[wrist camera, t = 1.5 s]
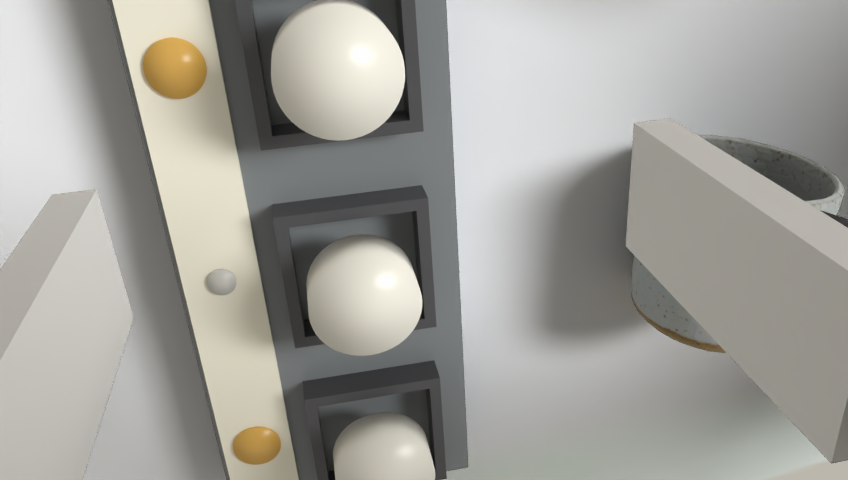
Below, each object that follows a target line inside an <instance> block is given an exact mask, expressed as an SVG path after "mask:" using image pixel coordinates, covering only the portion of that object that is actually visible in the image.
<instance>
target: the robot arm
mask: <svg viewBox="0 0 848 480" xmlns="http://www.w3.org/2000/svg"><path fill="white" fill-rule="evenodd" d="M626 247H627V248H628V249H629V250H630V251H631V252H632V253H633V254H634V255H635V257H636V258H637V259H638V260H639V261H640V262H641V263H642V264H643V265H644V266H645V267H646V268H647V269H648V270H649V271H650V272H651V273H652V275H653V276H654V277H655V278H656V279H657V280H658V281H659V282H660V283H661V284H662V285H663V286H664V287H665V288H666V289H667V290H668V291H669V293H670V294H671V295H672V296H673V297H674V298H675V299H676V300H677V301H678V302H679V303H680V304H681V305H682V306H683V307H684V308H685V309H686V310H687V312H688V313H689V314H690V315H691V316H692V317H693V318H694V319H695V320H696V321H697V322H698V323H699V324H700V325H701V326H702V327H703V328H704V330H705V331H706V332H707V333H708V334H709V335H710V336H711V337H712V338H713V339H714V340H715V341H716V342H717V343H718V344H719V345H720V346H721V348H722V349H723V350H724V351H725V352H726V353H727V354H728V355H729V356H730V357H731V358H732V359H733V360H734V361H735V362H736V363H737V364H738V365H739V367H740V368H741V369H742V370H743V371H744V372H745V373H746V374H747V375H748V376H749V377H750V378H751V379H752V380H753V381H754V382H755V383H756V385H757V386H758V387H759V388H760V389H761V390H762V391H763V392H764V393H765V394H766V395H767V396H768V397H769V398H770V399H771V400H772V401H773V403H774V404H775V405H776V406H777V407H778V408H779V409H780V410H781V411H782V412H783V413H784V414H785V415H786V416H787V417H788V418H789V419H790V420H791V422H792V423H793V424H794V425H795V426H796V427H797V428H798V429H799V430H800V431H801V432H802V433H803V434H804V435H805V436H806V437H807V438H808V440H809V441H810V442H811V443H812V444H813V445H814V446H815V447H816V448H817V449H818V450H819V451H820V452H821V453H822V454H823V455H824V456H825V457H826V459H827V460H828V461H829V462H830V463H836V462H841V461H846V460H848V219H845V218H842V217H839V216H836V215H833V214H831V213H828V212H825V211H820V210H818V209H816V208H815V207H813V206H812V205H810V204H808V203H807V202H805V201H803V200H802V199H800V198H799V197H797V196H795V195H794V194H792V193H790V192H789V191H787V190H786V189H784V188H782V187H781V186H779V185H777V184H776V183H774V182H773V181H771V180H769V179H768V178H766V177H765V176H763V175H761V174H760V173H758V172H756V171H755V170H753V169H752V168H750V167H748V166H747V165H745V164H743V163H742V162H740V161H739V160H737V159H735V158H734V157H732V156H730V155H729V154H727V153H726V152H724V151H722V150H721V149H719V148H717V147H716V146H714V145H713V144H711V143H709V142H708V141H706V140H704V139H703V138H701V137H700V136H698V135H696V134H695V133H693V132H691V131H690V130H688V129H687V128H685V127H683V126H682V125H680V124H678V123H677V122H675V121H674V120H672V119H662V120H653V121H645V122H637V123H634V130H633V145H632V159H631V174H630V189H629V203H628V218H627V232H626ZM133 319H134V317H133V313H132V310H131V306H130V303H129V299H128V296H127V293H126V289H125V286H124V282H123V279H122V275H121V272H120V268H119V265H118V261H117V258H116V254H115V251H114V247H113V244H112V241H111V237H110V234H109V230H108V227H107V223H106V220H105V216H104V213H103V209H102V206H101V202H100V199H99V195H98V192H97V189H95V190H87V191H79V192H71V193H62V194H54V195H52V196H51V197H50V199H49V200H48V201H47V203H46V204H45V206H44V207H43V209H42V210H41V211H40V213H39V214H38V216H37V217H36V219H35V220H34V222H33V223H32V224H31V226H30V227H29V229H28V230H27V232H26V233H25V235H24V236H23V237H22V239H21V240H20V242H19V243H18V245H17V246H16V248H15V249H14V250H13V252H12V253H11V255H10V256H9V258H8V259H7V261H6V262H5V263H4V265H3V266H2V268H1V269H0V480H83V477H84V474H85V471H86V468H87V465H88V462H89V459H90V455H91V452H92V449H93V446H94V443H95V440H96V436H97V433H98V430H99V427H100V424H101V421H102V417H103V414H104V411H105V408H106V405H107V402H108V398H109V395H110V392H111V389H112V386H113V383H114V379H115V376H116V373H117V370H118V367H119V364H120V360H121V357H122V354H123V351H124V348H125V345H126V341H127V338H128V335H129V332H130V329H131V326H132V322H133Z"/></svg>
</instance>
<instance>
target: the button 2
mask: <svg viewBox="0 0 848 480" xmlns="http://www.w3.org/2000/svg"><path fill="white" fill-rule="evenodd" d="M333 461H334V471H335V480H435V468H434V464H433V460H432V457H431V453H430V449H429V445H428V442H427V438H426V435H425V432H424V431H423V429H422V428H421V426H420V425H419V424H418V423H417V422H416V421H414V420H413V419H411V418H409V417H407V416H405V415H402V414H398V413H391V412H381V413H374V414H370V415H367V416H364V417H362V418H359V419H357V420H356V421H354V422H352V423H351V424H350V425H348V426H347V427H346V428H345V429H344V430H343V431H342V432H341V434H340V435H339V436H338V438H337V440H336V442H335V445H334V448H333Z"/></svg>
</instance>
